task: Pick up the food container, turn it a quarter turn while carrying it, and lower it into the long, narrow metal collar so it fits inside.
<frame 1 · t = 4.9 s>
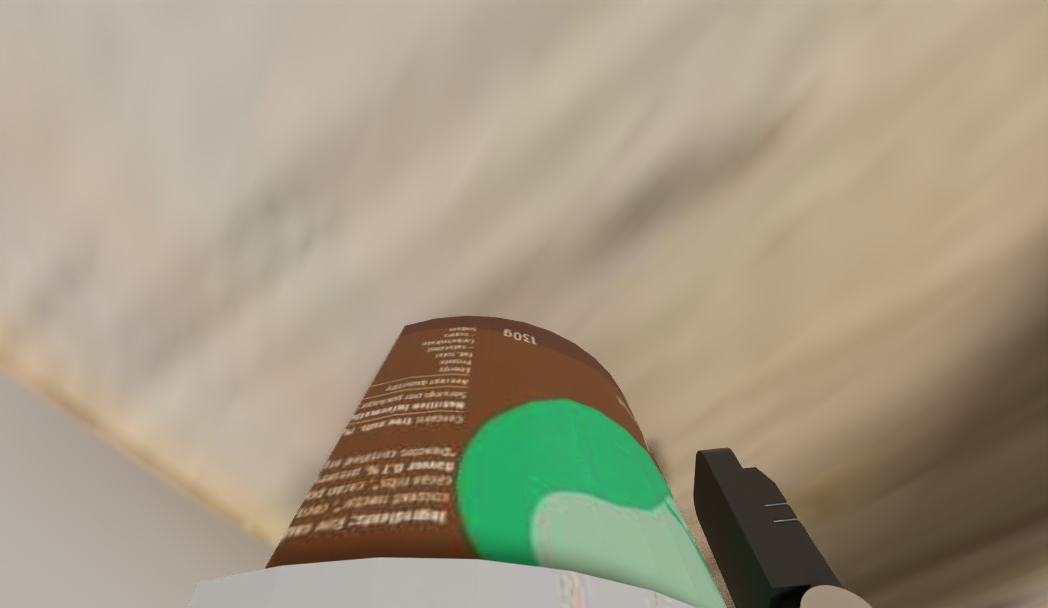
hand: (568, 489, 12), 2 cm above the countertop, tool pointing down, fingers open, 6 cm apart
food container: (566, 424, 15), on the countertop, touching gripper
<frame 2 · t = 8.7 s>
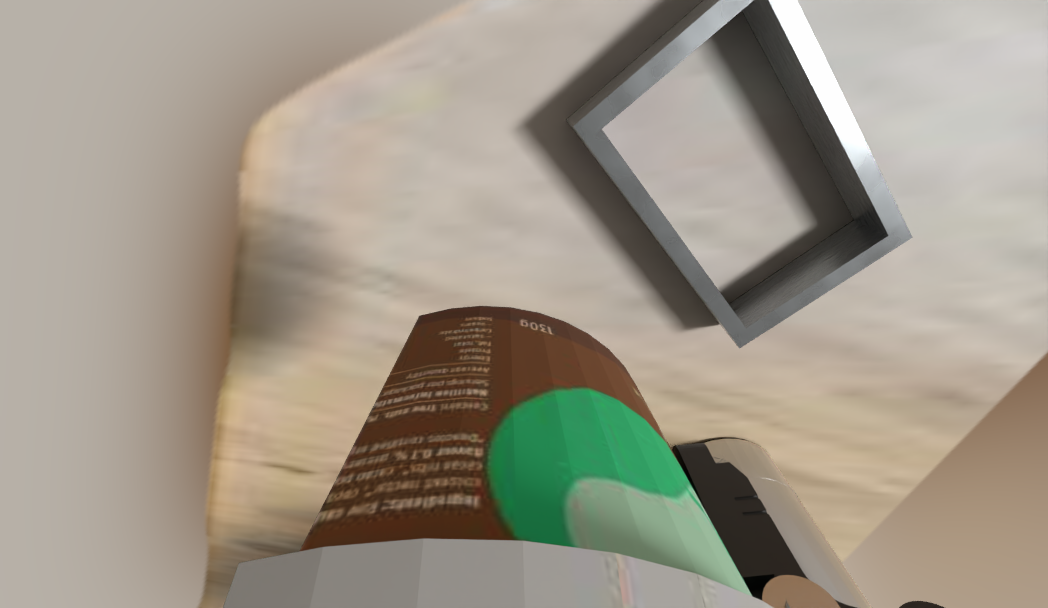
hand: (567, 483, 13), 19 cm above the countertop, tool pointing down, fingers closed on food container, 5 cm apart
food container: (578, 415, 15), point 17 cm above the countertop, touching gripper
collar: (730, 173, 28), on the countertop
when the fingers open (3 cm above the countertop, at t = 12.3 s): food container drops 1 cm, resting in collar.
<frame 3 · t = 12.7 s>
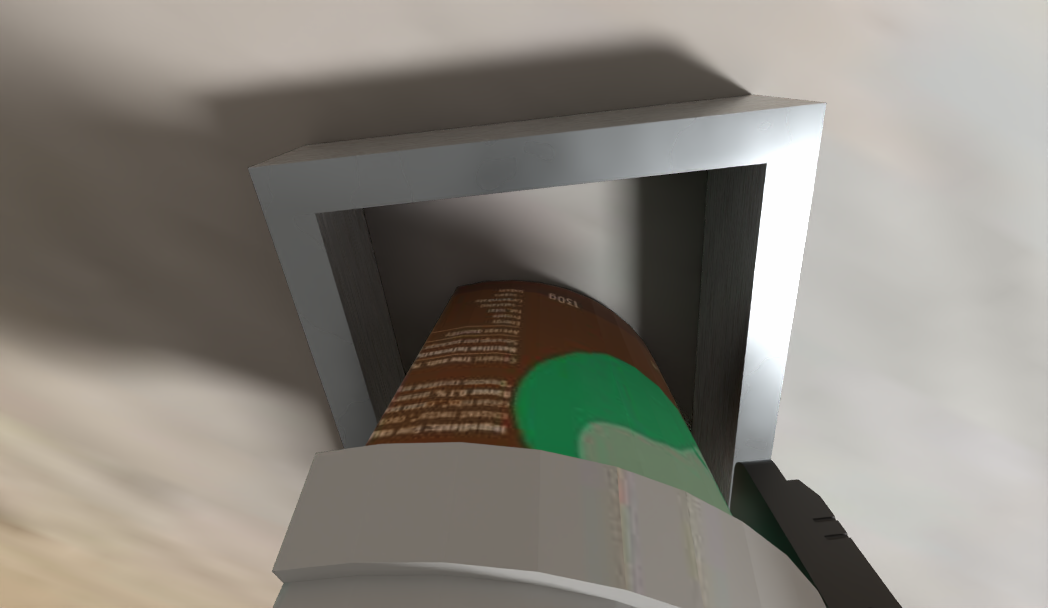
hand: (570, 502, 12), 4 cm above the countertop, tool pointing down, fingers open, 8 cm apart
food container: (599, 389, 16), resting in collar, touching gripper
collar: (554, 400, 16), on the countertop
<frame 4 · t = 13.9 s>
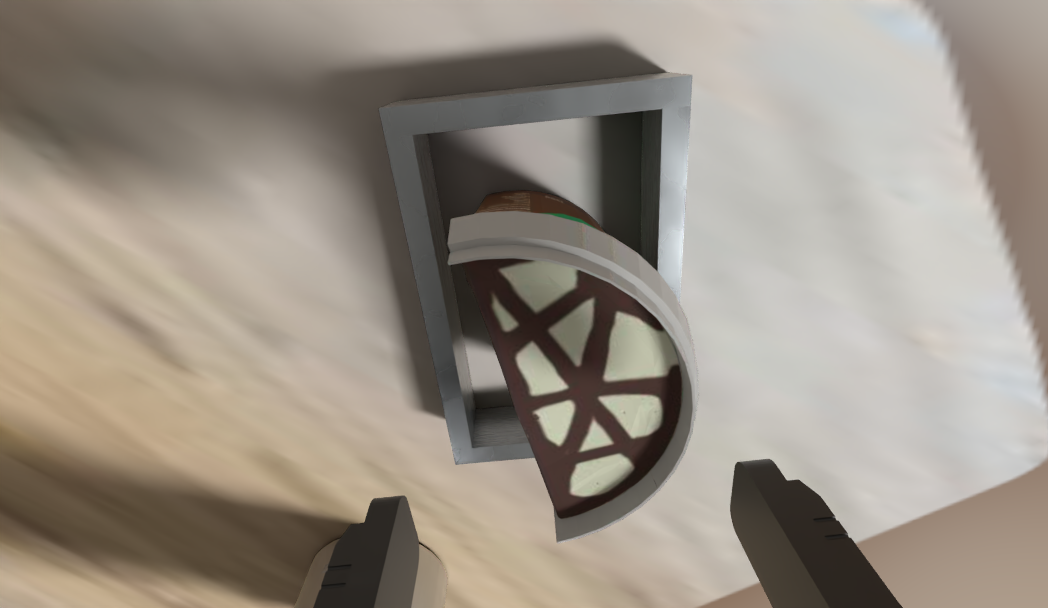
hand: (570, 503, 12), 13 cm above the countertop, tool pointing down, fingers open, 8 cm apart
food container: (577, 268, 24), resting in collar
collar: (546, 278, 24), on the countertop
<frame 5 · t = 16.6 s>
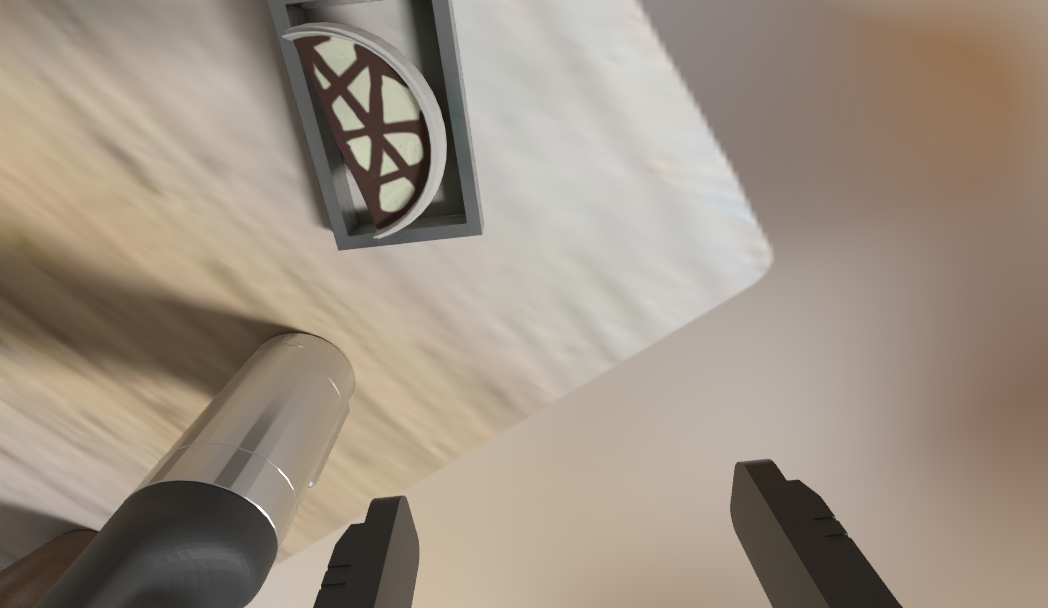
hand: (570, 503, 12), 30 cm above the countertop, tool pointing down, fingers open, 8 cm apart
plant pot: (93, 550, 55), on the countertop
food container: (414, 113, 36), resting in collar
collar: (393, 120, 36), on the countertop
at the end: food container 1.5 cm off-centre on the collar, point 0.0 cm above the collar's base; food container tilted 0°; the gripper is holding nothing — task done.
